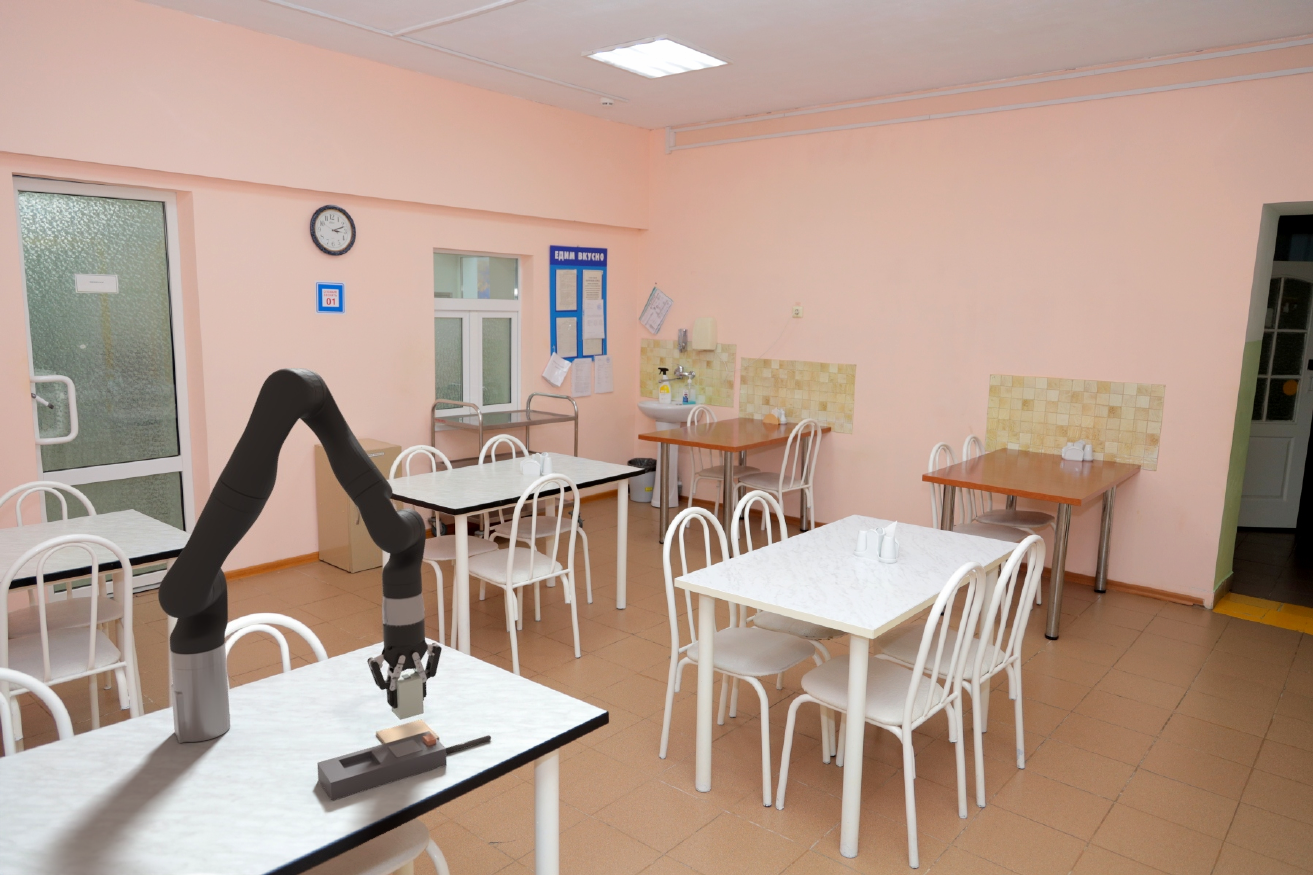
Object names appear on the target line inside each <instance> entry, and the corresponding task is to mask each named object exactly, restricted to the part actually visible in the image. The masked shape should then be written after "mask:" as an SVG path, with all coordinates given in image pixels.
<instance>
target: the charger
mask: <svg viewBox="0 0 1313 875" xmlns="http://www.w3.org/2000/svg"><path fill="white" fill-rule="evenodd" d="M396 690H397V704H398V707H397V708H395V709H393V708H392V707H391V712H393V714H394V715H395V716H396V717H397V718H398V720H405V719H408V718H411V717H416V716H419V715H422V714H424V713H425V712H424V710H425V709H424V701H423V683H422V677H421V676H418V674H417V673H415V672H414V670H413V669H412V670H410V671H406V672H405V671H403V672H401V675H400V678H399V679H398V682H397V685H396Z"/></svg>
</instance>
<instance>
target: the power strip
mask: <svg viewBox="0 0 1313 875" xmlns="http://www.w3.org/2000/svg"><path fill="white" fill-rule="evenodd" d="M491 739H492V736H491V735H484V736H481V737H478V738H476V739H471V740H469V741H468V740H467V741H465V742H461V743H459V744H455V745H451V746H447V747H446V746H445V745H444V744H442V743H441V742H440V739H439V740H438V739H437V738H436V737H435V736H434V735H433V734H432V733H431V732H430V731H427V732H424V733H420V734H417V735H413V736H410V737H406V738H402V739H399V740H395V741H392V742H388V743H385V744H384V743H382V744H378V745H375V746H372V747H368V748H364V749H360V750H357V751H354V752H351V753H350V752H349V753H346V754H343V755H340V756H339V755H338V756H337V757H333V758H329V759H325V760H321V761H318V762H317V780H318V782H319V783H320V785H321V787H322V788H323V790H324V791H325V793H326V794H327V796H328V797H329V799H330V801H331V802H332V801H337V800H340V799H342V798H345V797H349V796H352V795H355V794H359V793H362V792H364V791H365V792H366V791H368V790H371V789H374V788H377V787H382V786H383V785H387V784H391V783H394V782H397V781H400V780H403V779H406V778H410V777H412V776H417V775H419V774H422V773H427V772H429V771H432V770H435V769H436V770H437V769H438V768H441V767H444V766H445V767H446V766H447V764H448V763H447V754H450V753H454V752H457V751H460V750H464V749H466V748H470V747H473V746H477V745H480V744H483V743H487V742H490V741H491Z"/></svg>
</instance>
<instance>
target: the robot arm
mask: <svg viewBox="0 0 1313 875" xmlns="http://www.w3.org/2000/svg"><path fill="white" fill-rule="evenodd" d="M299 420H301V421H302V422H303V423H304V424H305V425H307V426H308V428H309V429H310V430H311V431H312V432H313V433H314V435H315V436H316V438H317V439H318V441H319V442H320V444H321V446H322V448H323V450H324V452H325V454H326V456H327V460H328V462H329V465H330V467H331V468H330V469H331V470H332V473H333V474H334V476H335V478H336V481H338V483H339V484H340V486H341V488H342V489H343V490H344V491H345V493H346V494H347V495H348V497H349V498H350V499H351V501H352V502H353V503H354V505H355V506H356V507H357V508H358V511H359V514H360V517H361V518H362V519H361V520H362V521H363V523H364V526H365V528H366V530H367V532H368V535H369V536H370V538H371V540H372V541H373V543H374V544H375V545H376V546H377V547H378V548H379V549H381V550H382V551H383V552H386V553H387V554H389V558H388V561H387V562H386V564H385V565H384V566H383V569H382V574H381V579H382V580H381V581H382V604H381V612H382V636H383V637H382V638H383V649H382V651H381V654H379V655H377V656H375V657H369V658H368V659H367V661H366V662H367V664H368V668H369V670H370V672H371V675H372V677H373V678H372V679H373V680H374V683H375V685H376V687H378V688H379V690H381V691H384V690H386V702H387V704H388V705H389V706H390V707H391V709H392V708H393V709H395V708H397V707H398V704H397V690H396V685H397V682H398V679H399V678H400V675H401V673H403V672H405V671H406V670H412V671H413V670H414V672H415V673H417V674H418V676H421V677H422V683H423V702H424V701H425V698H427V695H428V694H427V693H428V692H427V681H428V679H430V678H434V677H436V674H437V671H438V670H437V669H438V667H439V662H440V659H441V653H442V649H443V648H442V647H441V646H440V645H439V644H437V642H432V644H431V643H427V642H426V625H425V623H426V622H425V620H426V619H425V614H426V610H425V602H424V596H423V582H422V581H423V580H422V565H423V560H424V554H425V547H426V538H427V537H426V536H427V528H426V524H425V521H424V519H423V516H421V514H420V513H419V512H418V511H417V510H414V509H412V508H401V509H398V510H396V509H395V506H394V505H393V503H392V501H391V499H390V498H391V497H392V495H393V488H392V486H391V485H390V483H389V481H388V480H387V478H386V477H385V476H384V475H383V473H382V472H381V471H380V469H379V467H377V465H376V464H375V462H374V461H373V460H372V459H371V457H370V455H369V454H368V453H367V452H366V450H365V449H364V448H363V446H362V445H361V443H360V441H359V440H358V439H357V437H356V435H355V433H353V431H352V429H351V428H350V426H349V424H348V421H346V419H345V417H344V415H343V413H342V411H341V410H340V408H339V406H338V404H337V402H336V401H335V398H334V396H333V394H332V393H331V391H330V389H329V387H328V385H327V383H326V382H325V380H324V379H323V377H322V376H321V375H319V374H318V373H317V372H315V371H314V370H311V369H307V368H298V367H297V368H295V367H293V368H292V367H291V368H286V367H285V368H281V369H278V370H277V369H276V370H275V371H274V372H272V373H271V374H269V375H268V376H267V378H265V381H264V382H263V384H262V386H261V388H260V390H259V393H258V395H257V398H256V401H255V403H254V406H253V408H252V411H251V413H250V415H249V419H248V422H247V423H246V426H245V428H244V431H243V433H242V434H241V436H240V438H239V439H238V442H237V443H236V445H235V447H234V449H233V451H232V453H231V455H230V457H229V459H228V461H227V462H226V464H225V466H224V467H223V469H222V471H221V473H220V474H219V476H218V478H217V480H216V483H215V484H214V485H213V487H212V490H211V492H210V494H209V497H208V499H207V501H206V503H205V505H204V507H203V509H202V511H201V513H200V515H199V517H198V518H197V521H196V523H195V526H194V528H193V529H192V532H191V535H190V537H189V538H188V540H187V542H186V544H185V546H184V547H183V549H182V550H181V552H180V554H179V555H178V556H177V558H175V561H174V563H173V564H172V565H171V567H170V568H169V569H168V571H167V572H166V574H165V575H164V577H163V578H162V580H161V581H160V584H159V588H158V593H157V594H158V601H159V605H160V608H161V609H162V611H163V612H165V613H166V614H167V615H168V616H169V617H172V618H175V619H177V620H176V623H175V625H174V627H173V629H172V631H171V633H170V636H169V650H170V662H171V663H170V664H171V675H172V676H171V677H172V680H171V681H172V683H171V687H170V688H171V698H172V700H171V701H172V713H173V726H174V733H175V736H176V738H177V741H178V742H177V743H178V744H181V743H186V742H187V743H188V742H194V743H195V742H203V741H208V740H212V739H214V738H217V737H219V736H221V735H223V734H225V733H226V732H227V731H229V729H230V728H231V712H230V700H229V698H230V697H229V685H228V684H229V682H228V668H227V667H228V666H227V665H228V664H227V654H226V631H227V627H228V622H229V621H228V620H229V606H228V605H229V603H228V602H229V600H228V597H229V596H228V594H229V593H228V582H227V577H226V574H225V572H224V571H223V569H222V566H223V564H224V562H226V559H227V558H228V556H229V555H230V554H231V552H232V551H233V550H234V548H236V546H237V545H238V544H239V543H240V542H241V540H242V539H243V538H244V537H245V535H246V534H247V533H248V532H249V531H250V529H251V528H252V527H253V525H254V524H255V522H256V521H257V520H258V518H259V517H260V515H261V514H262V511H263V510H264V508H265V506H266V504H267V502H268V500H269V498H270V497H271V494H272V493H273V491H274V488H275V484H276V481H277V474H278V464H279V458H280V457H279V456H280V453H281V450H282V448H283V445H284V443H285V441H286V439H287V438H288V436H289V434H290V433H291V431H292V429H293V428H294V427H295V425H296V424H297V422H298V421H299ZM426 653H427V655H428V656H427V661H426V665H425V668H424V665H423V663H422V660H423V658H424V656H425V655H426ZM384 661H385V662H386V663H387V664H388V667H387V671H386V672H387V674H386V678H385V677H384V675H383V673H382V670H381V669H382V668H383V663H384Z"/></svg>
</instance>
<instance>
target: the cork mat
mask: <svg viewBox="0 0 1313 875" xmlns="http://www.w3.org/2000/svg"><path fill="white" fill-rule="evenodd" d="M427 731H430V732H431V733H432V734H433V735H434V736H435V737H436V738H437V739H438V740H439V741H440V736H439V735H438V734H437V733H436V732H435V731H434V730H433V729H432V728H431V727H430V726H429V725H428V724H427V723H426V721H424V720H423V719H418V720H414V721H410V722H407V723H404V724H400V725H395V726H392V727H389V728H385V729H382V730H379V731H375V733H376V734H375V735H376V737H377V738H378V739H379V740H380V741H381V743H382V744H385V743H388V742H392V741H395V740H399V739H402V738H406V737H410V736H413V735H417V734H420V733H424V732H427Z"/></svg>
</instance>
